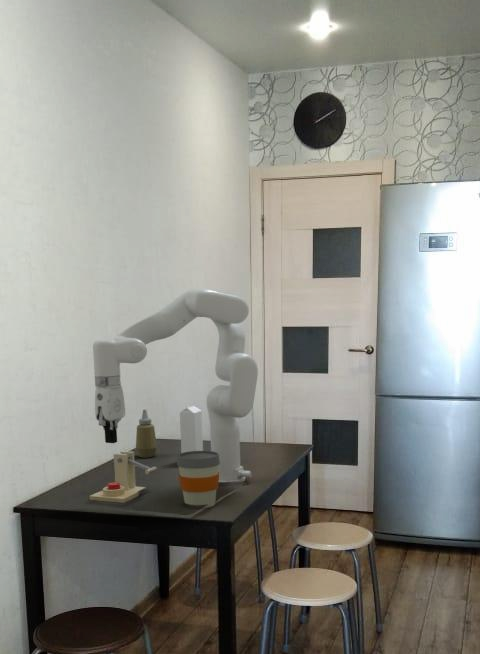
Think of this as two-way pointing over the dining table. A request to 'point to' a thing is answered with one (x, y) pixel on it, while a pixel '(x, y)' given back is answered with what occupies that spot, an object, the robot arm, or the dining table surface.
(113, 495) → the control box
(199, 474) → the reusable coffee cup
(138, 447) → the squeeze bottle
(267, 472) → the dining table surface
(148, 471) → the switch lever
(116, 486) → the button
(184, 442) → the milk
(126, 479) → the switch bracket
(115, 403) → the robot arm
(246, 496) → the dining table surface
